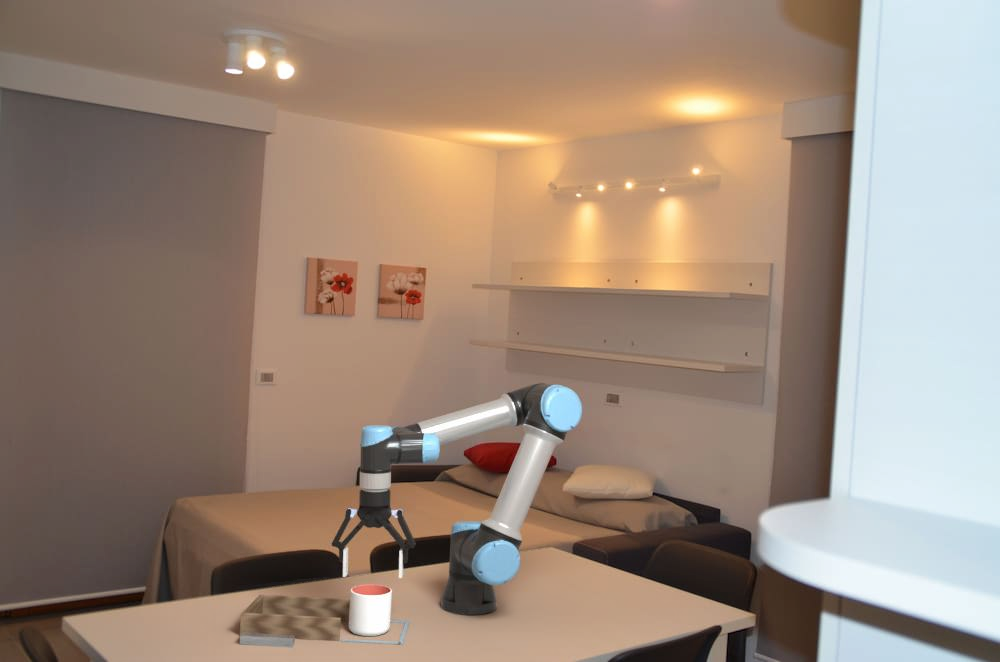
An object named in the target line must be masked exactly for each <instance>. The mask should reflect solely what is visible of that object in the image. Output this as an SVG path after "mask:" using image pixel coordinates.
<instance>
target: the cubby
mask: <svg viewBox="0 0 1000 662" xmlns="http://www.w3.org/2000/svg"><path fill="white" fill-rule="evenodd" d="M349 610H350V598H333V597H331V598H330V597H314V596H313V597H311V596H294V595H277V594H276V595H275V594H258V596H257V597H256V598H255V599H254V600H253V601H252V602H251V603H250V604H249V605H248V606H247V607H246V608H245V610H243V612H241V614H240V622H239V623H240V625H239V626H240V627H239V636H240V635H241V634H242V633H243V632H244V631H245V630H254V633H256V634H274V635H293V636H295V640H298V639H299V640H311V641H314V640H315V641H317V640H318V641H332V642H333V641H334V642H339V641H340V640H341V637H340V636H341V625H342V622H341V621H347V622H349Z"/></svg>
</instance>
